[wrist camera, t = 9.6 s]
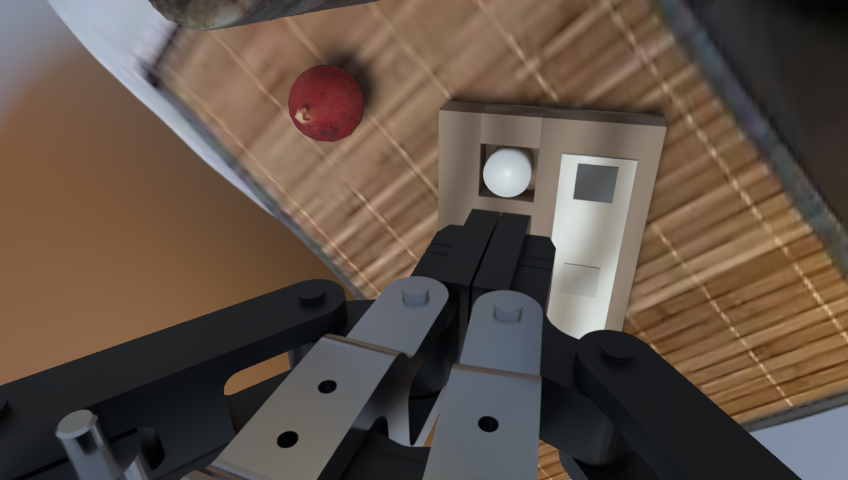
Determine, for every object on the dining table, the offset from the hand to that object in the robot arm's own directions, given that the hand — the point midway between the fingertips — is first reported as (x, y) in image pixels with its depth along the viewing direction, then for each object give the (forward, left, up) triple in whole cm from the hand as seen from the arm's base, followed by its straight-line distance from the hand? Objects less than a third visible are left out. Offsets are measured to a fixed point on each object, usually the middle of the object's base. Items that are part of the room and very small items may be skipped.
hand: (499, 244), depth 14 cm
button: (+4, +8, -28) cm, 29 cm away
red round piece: (+18, +4, -29) cm, 35 cm away
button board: (+1, +17, -29) cm, 34 cm away
